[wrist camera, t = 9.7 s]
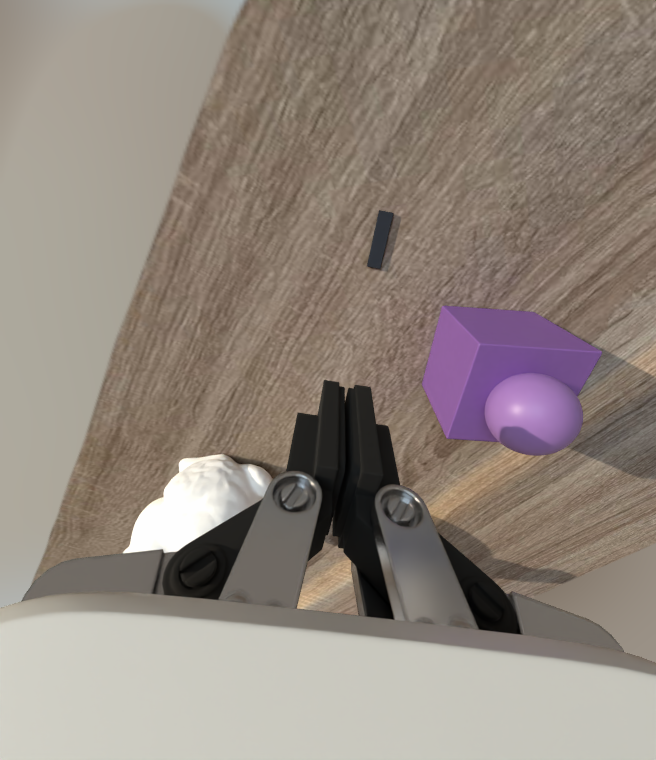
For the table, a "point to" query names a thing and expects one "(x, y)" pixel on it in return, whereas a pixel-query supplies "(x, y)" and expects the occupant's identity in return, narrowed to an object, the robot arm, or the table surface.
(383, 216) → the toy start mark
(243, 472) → the rabbit
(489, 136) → the table surface
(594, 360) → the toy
